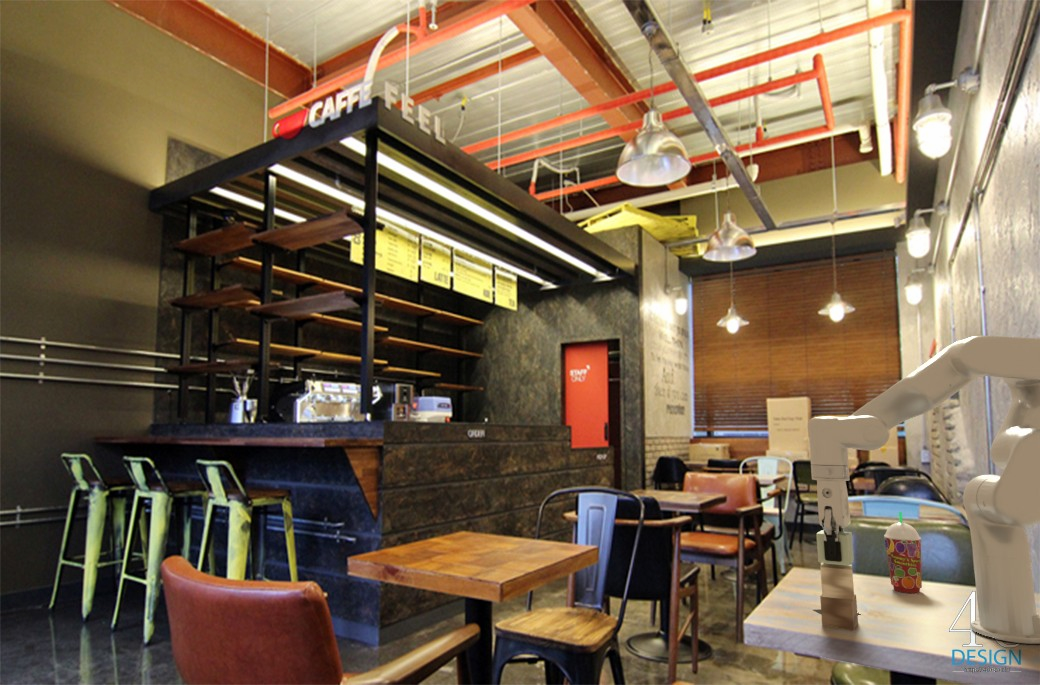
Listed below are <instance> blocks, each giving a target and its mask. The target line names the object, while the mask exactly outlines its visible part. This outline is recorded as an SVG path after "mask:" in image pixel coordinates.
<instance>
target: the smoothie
mask: <svg viewBox="0 0 1040 685" xmlns="http://www.w3.org/2000/svg"><path fill="white" fill-rule="evenodd" d="M898 517H899V518H898V519H899V520H898V521H899V522H894V523H892V524H890V526H888V528H887V529H886V531H885V534H884V535H883V537H884V544H885V550H886V557H887V564H888V565H887V566H888V570H889V571H888V572H889V578H890V585H892V588H893V590H894V591H895V592H899V593H902V594H903V593H904V594H912V593H913V594H919V593H921V592H920V591H921V589H922V587H923V581H922V579H923V577H922V537H921V536H920V534H919V533H918V531H917V530H916V528H914V527H913V526H912V525H911V524H908V523H906V522H903V513H902V511H898Z"/></svg>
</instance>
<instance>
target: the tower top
mask: <svg viewBox="0 0 1040 685" xmlns="http://www.w3.org/2000/svg"><path fill="white" fill-rule="evenodd" d="M819 570H820V580H821V595H822V597H830V598H839V599H849V600H854V594H855V590H854V575H853V564H850V565H849V566H848V565H839V564H829V563H820V569H819Z"/></svg>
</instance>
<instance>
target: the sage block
mask: <svg viewBox="0 0 1040 685" xmlns="http://www.w3.org/2000/svg"><path fill="white" fill-rule="evenodd" d="M815 536H816V550H817V562H818V563H820V564H821V563H829V564H839V565H848V566H849V565H852V563H853V562H854V561H855V560H854V559H855V558H854V548H853V547H854V545H853V544H854V543H853V534H852V531H851V532H850V531H845V532H839V542H841V554H842V561H841V562H836V561H827V560H825V553H824V529H823V530H822V529H821V530H820V531H818V532H817V533H816V535H815Z"/></svg>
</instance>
